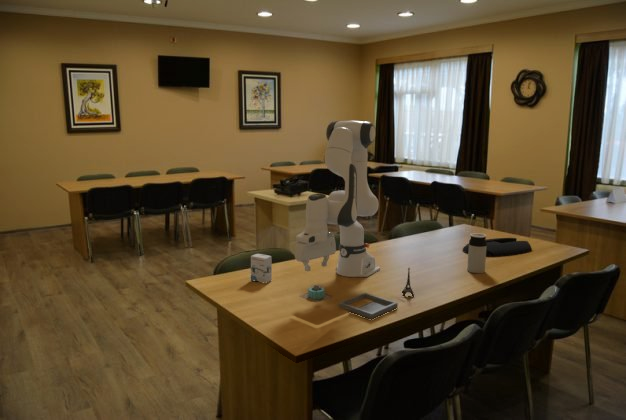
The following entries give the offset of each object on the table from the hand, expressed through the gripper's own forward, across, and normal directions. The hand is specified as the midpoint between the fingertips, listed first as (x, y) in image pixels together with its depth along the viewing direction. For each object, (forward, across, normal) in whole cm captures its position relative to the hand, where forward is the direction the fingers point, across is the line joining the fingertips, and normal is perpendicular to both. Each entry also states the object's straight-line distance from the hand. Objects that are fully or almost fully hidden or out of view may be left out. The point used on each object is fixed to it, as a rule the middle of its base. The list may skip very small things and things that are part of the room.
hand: (316, 268), depth 197 cm
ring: (+12, -1, 0) cm, 12 cm away
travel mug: (+11, -81, +29) cm, 86 cm away
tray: (+13, -7, +22) cm, 26 cm away
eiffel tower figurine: (+13, -31, +24) cm, 41 cm away
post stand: (+13, -1, 0) cm, 13 cm away
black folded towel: (+11, -126, +18) cm, 127 cm away
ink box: (+13, +1, -33) cm, 36 cm away
